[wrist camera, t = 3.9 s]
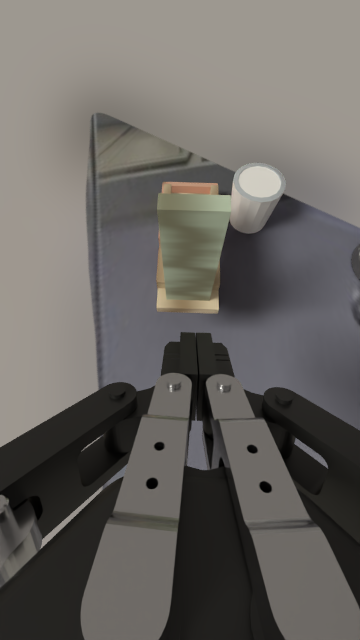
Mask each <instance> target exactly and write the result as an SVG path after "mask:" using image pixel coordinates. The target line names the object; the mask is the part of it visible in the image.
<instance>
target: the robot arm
mask: <svg viewBox="0 0 360 640" xmlns="http://www.w3.org/2000/svg"><path fill="white" fill-rule="evenodd" d="M351 261H352V267H353V270H354V272H355V274H356V276H357V277H358V278H359V280H360V244H359V245H358V246H357V247H356V249H355V250H354V252H353V254H352V259H351ZM195 415H197V421H203V431H202V439H203V445H204V451H205V457H206V464H207V470H199V469H195V468H192V467H188V466H187V459H188V446H189V432H190V431H191V424H192V420H194V421H195ZM102 434H103V436H102V437H101V438H99V439H98V440H97V441H95V442H94V443H93V444H91V445H90V446H88V447H87V448H86V449H84V448H85V447H86V446H87V445H88V444H90V443H91V442H93V441H94V440H96V439H97V438H98V437H100V436H101V435H102ZM295 438H297V439H299V440H300V441H301V442H303V443H304V444H306V445H307V446H308V447H310V448H311V449H313V450H314V451H315V452H317V453H318V454H319V455H321V456H322V457H323V458H324V459H325V461H326V463H327V465H328V469H327V468H326V467H325V466H323V465H322V464H321V463H319V462H318V461H317V460H315V459H314V458H313V457H311V456H310V455H308V454H307V453H306V452H304V451H303V450H302V449H300V448H299V447H298V446H296V445H295V444H294V442H295ZM83 449H84V450H83ZM82 450H83V451H82ZM81 451H82V452H81ZM126 464H128V465H127V468H126V471H125V475H124V477H122V478H119V479H118V480H116V481H114V482H113V483H111V484H110V485H108V486H107V487H106V488H105V489H103V490H102V491H101V492H100V493H99V494H98V495H97V496H96V497H95V498H94V499H93V500H92V501H91V502H90V503H89V504H88V505H87V506H85V507H84V509H82V510H81V511H80V512H79V513H78V514H77V515H76V516H75V517H74V518H73V519H72V520H71V521H70V522H69V523H68V524H67V525H66V526H65V527H64V528H63V529H61V530H60V531H59V532H58V533H57V534H56V535H55V536H54V537H53V538H52V539H51V540H50V541H49V542H48V543H47V544H46V545H45V546H44V547H43V548H41V544H42V539H43V538H44V537H45V536H46V535H48V534H49V533H50V532H51V531H52V530H53V529H54V528H55V527H56V526H58V525H59V524H60V523H61V522H62V521H63V520H64V519H66V518H67V517H68V516H69V515H70V514H71V513H72V512H73V511H75V510H76V509H77V508H78V507H79V506H80V505H81V504H82V503H84V502H85V501H86V500H87V499H88V498H89V497H90V496H92V495H93V494H94V493H95V492H96V491H97V490H98V489H99V488H101V487H102V486H103V485H104V484H105V483H106V482H107V481H108V480H110V479H111V478H112V477H113V476H114V475H115V474H116V473H117V472H119V471H120V470H121V469H122V468H123V467H124V466H125V465H126ZM40 548H41V549H40ZM0 640H360V431H359V430H358V429H356V428H354V427H353V426H351V425H349V424H347V423H346V422H344V421H342V420H341V419H339V418H337V417H336V416H334V415H332V414H330V413H329V412H327V411H325V410H324V409H322V408H320V407H319V406H317V405H315V404H313V403H312V402H310V401H308V400H307V399H305V398H303V397H302V396H300V395H298V394H296V393H295V392H293V391H291V390H288V389H285V388H280V387H274V388H270V389H268V390H266V391H265V393H264V396H263V395H259V394H255V393H251V392H249V391H246V390H244V389H243V387H242V385H241V383H240V382H239V380H237V379H236V378H235V377H234V373H233V369H232V365H231V362H230V358H229V354H228V351H227V348H226V347H225V346H224V345H223V344H222V343H212V337H211V333H196V340H195V333H187V332H181V336H180V342H169V343H168V344H167V345H166V346H165V349H164V356H163V363H162V370H161V377H159V378H158V380H157V382H156V385H155V386H153V387H152V388H149V389H146V390H142V391H137V392H136V389H135V387H134V386H132V385H131V384H128V383H124V382H117V383H112V384H109V385H107V386H105V387H103V388H102V389H100V390H98V391H97V392H95V393H93V394H91V395H90V396H88V397H86V398H85V399H83V400H81V401H79V402H78V403H76V404H74V405H72V406H71V407H69V408H67V409H66V410H64V411H62V412H60V413H59V414H57V415H55V416H54V417H52V418H50V419H48V420H47V421H45V422H43V423H41V424H40V425H38V426H36V427H35V428H33V429H31V430H29V431H28V432H26V433H24V434H23V435H21V436H19V437H17V438H16V439H14V440H12V441H11V442H9V443H7V444H6V445H4V446H2V447H0Z"/></svg>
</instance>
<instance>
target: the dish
mask: <svg viewBox="0 0 360 640" xmlns="http://www.w3.org/2000/svg"><path fill="white" fill-rule="evenodd" d="M164 184H171V186H172V193H203V194H210V189H211V185H218V183H184V182H163V185H162V193H164ZM158 239H159V247H160V232H159V238H158Z"/></svg>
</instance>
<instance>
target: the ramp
mask: <svg viewBox="0 0 360 640" xmlns="http://www.w3.org/2000/svg"><path fill="white" fill-rule="evenodd" d="M157 212H158V222H159V232H160V249H159V263H158V277H157V285H158V296H157V312H186V313H216V314H217V313H218V310H219V295H218V290H219V286H220V255H221V251H222V247H223V243H224V239H225V235H226V231H227V227H228V223H229V219H230V215H231V195H218V185H211V189H210V194H203V193H172V186H171V184H164V193H159V194H158V206H157Z"/></svg>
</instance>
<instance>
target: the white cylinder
mask: <svg viewBox="0 0 360 640" xmlns="http://www.w3.org/2000/svg"><path fill="white" fill-rule="evenodd" d="M285 186H286V182H285V179H284V177H283V175H282V174H281V173H280V172H279V171H278V170H277V169H276V168H274V167H272V166H270V165H268V164H263V163H251V164H247V165H245V166H243V167H240V168H239V170H238V171H237V172H236V173H235V175H234V180H233V187H232V196H231V215H230V219H229V220H230V223H231V225H232V226H233V227H234V228H235V229H236V230H238V231H240V232H242V233H247V234H250V233H256V232H258V231H260V230H261V229H262V228H263V227H264V225H265V224H266V222H267V220H268V218H269V217H270V215H271V213H272V212H273V210H274V208H275V206H276V205H277V203H278V201H279V200H280V198H281V196H282V194H283V192H284V191H285Z"/></svg>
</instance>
